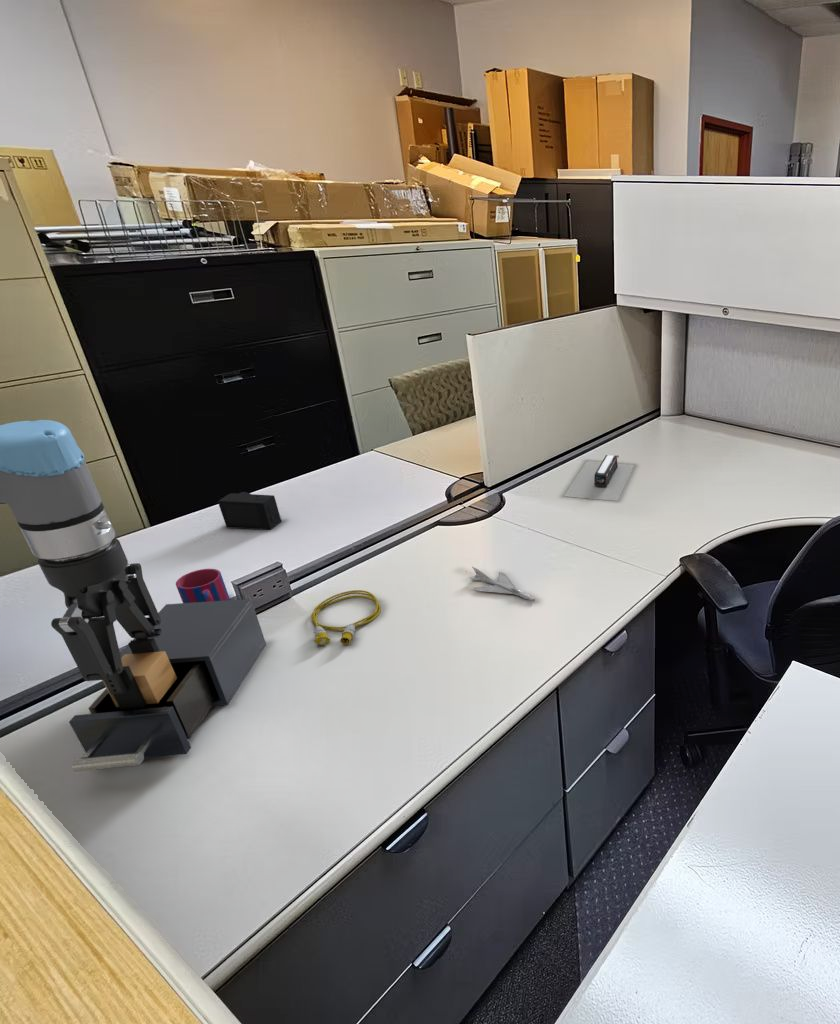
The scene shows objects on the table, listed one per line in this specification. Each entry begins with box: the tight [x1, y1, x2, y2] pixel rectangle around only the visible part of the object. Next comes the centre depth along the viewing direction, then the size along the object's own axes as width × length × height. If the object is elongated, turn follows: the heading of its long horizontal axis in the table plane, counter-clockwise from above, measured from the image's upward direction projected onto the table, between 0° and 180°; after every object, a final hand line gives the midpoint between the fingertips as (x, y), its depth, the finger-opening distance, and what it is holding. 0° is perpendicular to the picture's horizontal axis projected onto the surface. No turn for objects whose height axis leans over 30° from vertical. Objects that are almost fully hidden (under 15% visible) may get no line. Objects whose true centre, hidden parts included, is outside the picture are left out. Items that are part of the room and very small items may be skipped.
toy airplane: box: [465, 566, 536, 602], centre depth 126 cm, size 8×21×2 cm, turn 60°
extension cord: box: [310, 589, 381, 646], centre depth 114 cm, size 12×16×2 cm
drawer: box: [68, 661, 219, 772], centre depth 86 cm, size 18×11×8 cm, turn 11°
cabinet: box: [120, 598, 267, 707], centre depth 98 cm, size 15×13×10 cm
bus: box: [564, 454, 635, 502], centre depth 174 cm, size 14×25×4 cm, turn 174°
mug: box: [175, 568, 231, 603], centre depth 113 cm, size 7×10×7 cm
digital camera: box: [217, 491, 282, 531], centre depth 143 cm, size 10×5×7 cm, turn 89°
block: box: [101, 651, 177, 707], centre depth 85 cm, size 5×5×5 cm
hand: (145, 690), depth 86 cm, fingers closed on block, 5 cm apart
